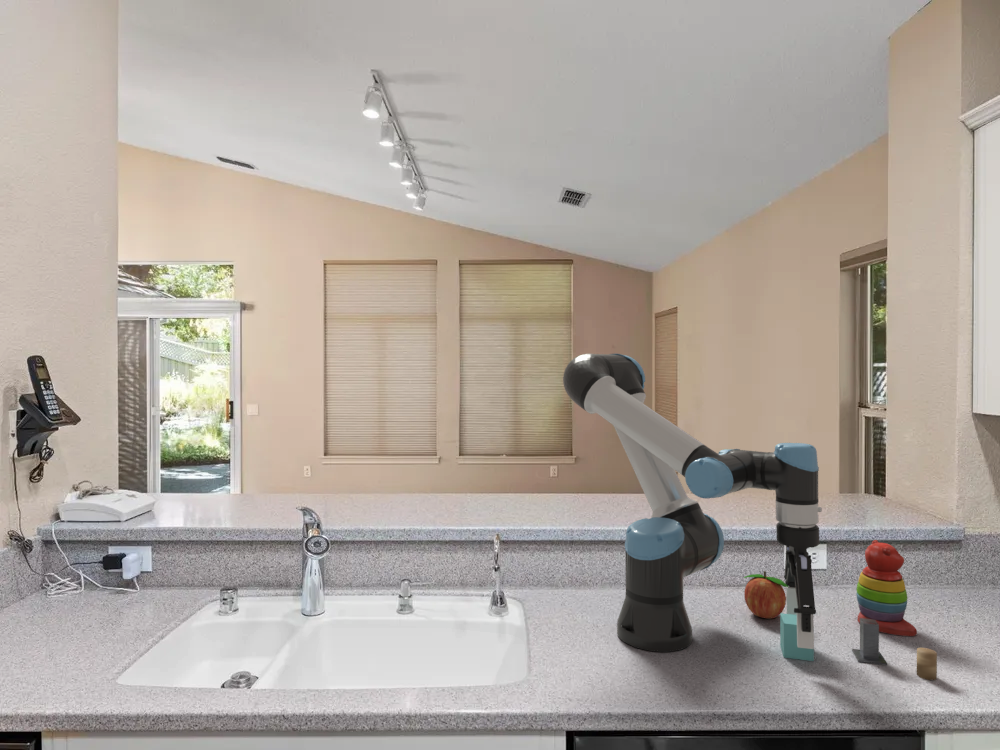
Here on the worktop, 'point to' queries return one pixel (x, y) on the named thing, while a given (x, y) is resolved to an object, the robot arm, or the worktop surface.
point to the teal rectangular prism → (792, 639)
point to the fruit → (765, 595)
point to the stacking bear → (884, 590)
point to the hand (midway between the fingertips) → (799, 633)
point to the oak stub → (927, 663)
